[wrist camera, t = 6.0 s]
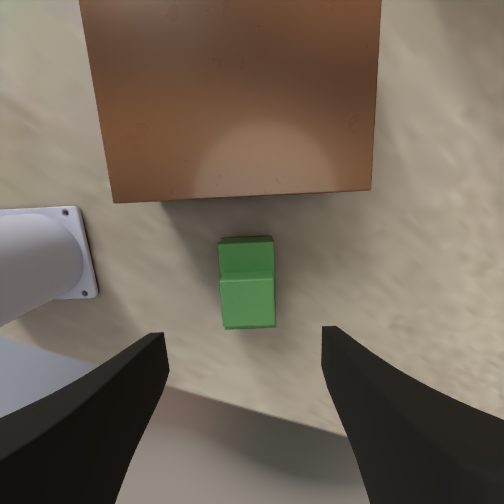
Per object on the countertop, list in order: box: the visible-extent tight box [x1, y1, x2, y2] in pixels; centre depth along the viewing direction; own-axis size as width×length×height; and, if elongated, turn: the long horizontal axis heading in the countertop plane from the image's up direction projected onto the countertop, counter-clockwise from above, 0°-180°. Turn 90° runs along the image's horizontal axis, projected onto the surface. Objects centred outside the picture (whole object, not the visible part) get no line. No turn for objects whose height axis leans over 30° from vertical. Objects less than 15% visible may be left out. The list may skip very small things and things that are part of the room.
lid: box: [79, 0, 382, 203], centre depth 12 cm, size 13×15×1 cm
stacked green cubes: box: [218, 236, 276, 329], centre depth 18 cm, size 7×4×5 cm, turn 3°
